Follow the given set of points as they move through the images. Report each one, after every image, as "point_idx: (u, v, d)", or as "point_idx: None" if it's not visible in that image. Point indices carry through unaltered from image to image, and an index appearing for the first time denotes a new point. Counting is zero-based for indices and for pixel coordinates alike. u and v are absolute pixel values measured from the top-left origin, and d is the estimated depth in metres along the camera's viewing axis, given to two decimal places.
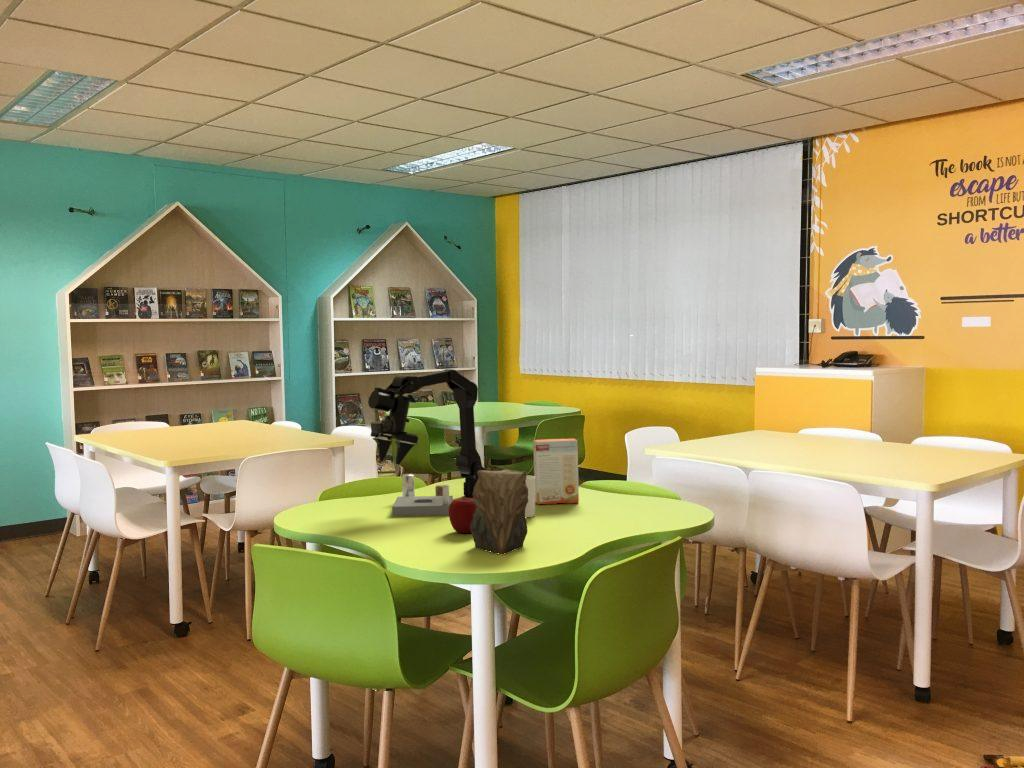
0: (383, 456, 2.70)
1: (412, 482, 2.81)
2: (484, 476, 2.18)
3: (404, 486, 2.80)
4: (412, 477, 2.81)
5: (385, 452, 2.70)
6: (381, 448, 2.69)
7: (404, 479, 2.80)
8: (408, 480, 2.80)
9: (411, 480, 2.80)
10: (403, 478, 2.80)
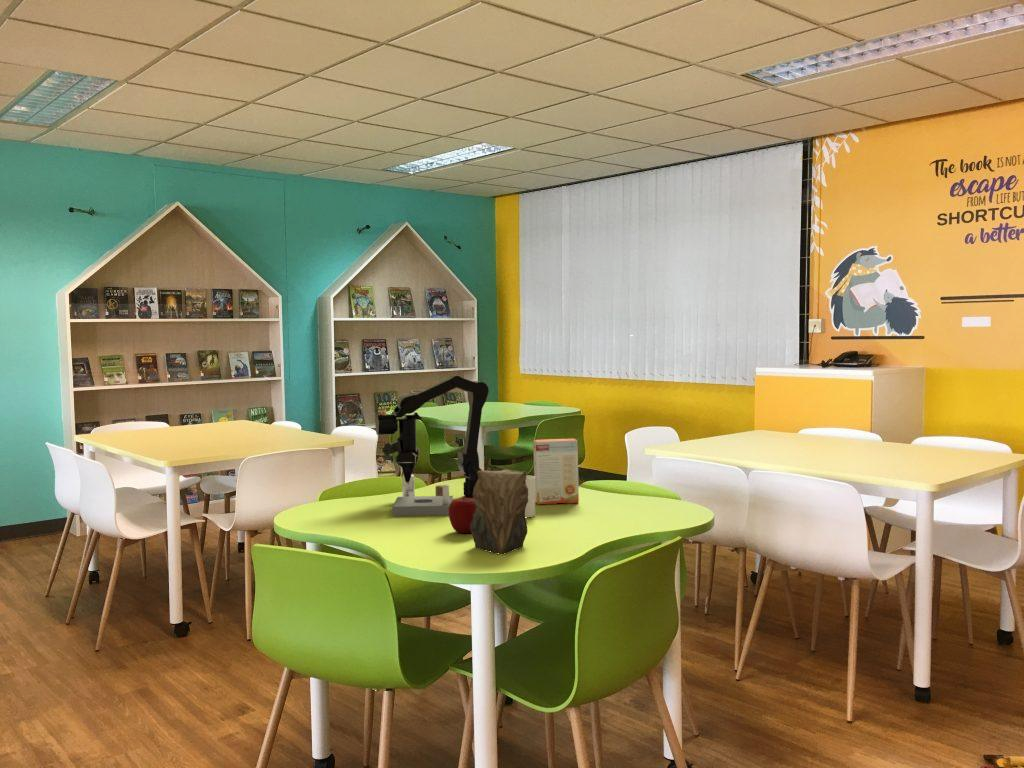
0: None
1: (412, 482, 2.81)
2: (484, 476, 2.18)
3: (404, 486, 2.80)
4: (412, 477, 2.81)
5: (412, 468, 2.86)
6: None
7: (404, 479, 2.80)
8: None
9: (411, 480, 2.80)
10: (403, 478, 2.80)
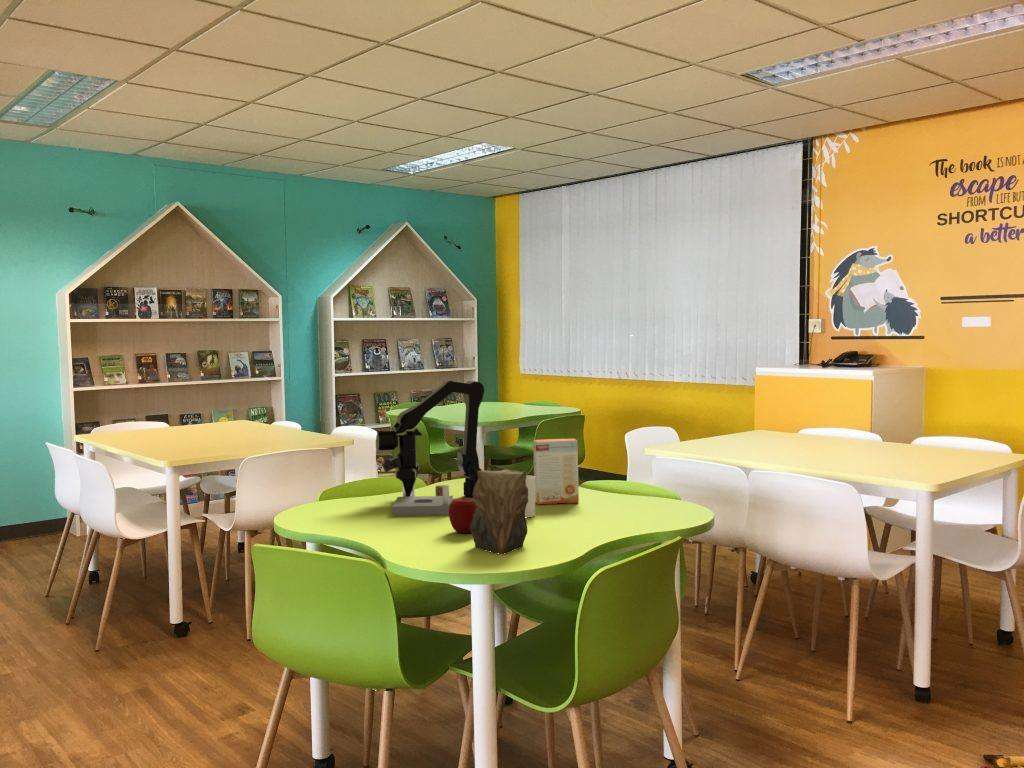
0: None
1: None
2: (484, 476, 2.18)
3: None
4: None
5: None
6: None
7: None
8: None
9: None
10: None
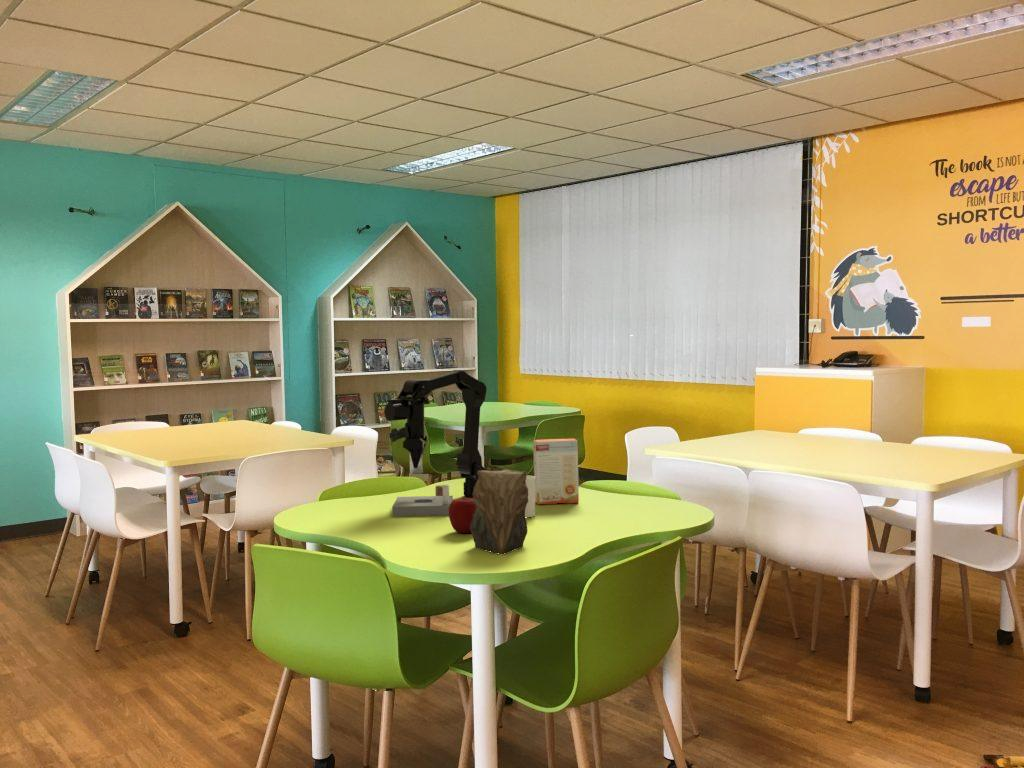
0: None
1: None
2: (484, 476, 2.18)
3: None
4: None
5: None
6: None
7: None
8: None
9: None
10: None
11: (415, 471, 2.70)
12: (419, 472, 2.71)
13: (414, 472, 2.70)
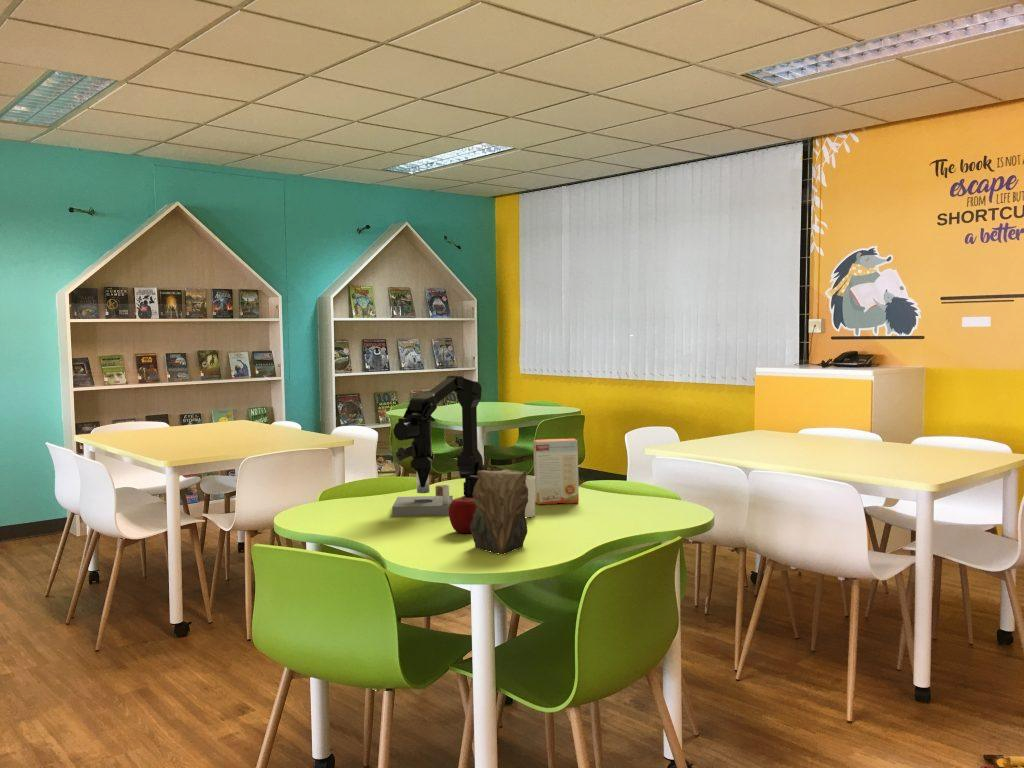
0: None
1: None
2: (484, 476, 2.18)
3: None
4: None
5: None
6: None
7: None
8: None
9: None
10: None
11: (423, 490, 2.65)
12: (426, 491, 2.66)
13: (421, 491, 2.65)
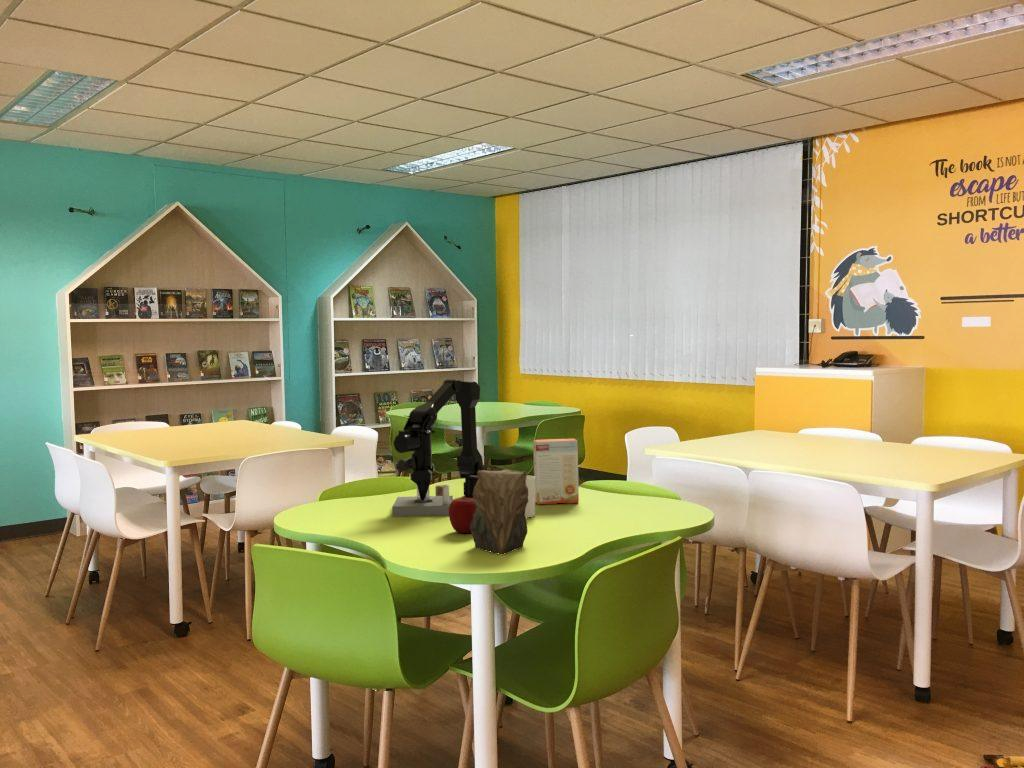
0: None
1: None
2: (484, 476, 2.18)
3: None
4: None
5: None
6: None
7: None
8: None
9: None
10: None
11: None
12: None
13: None
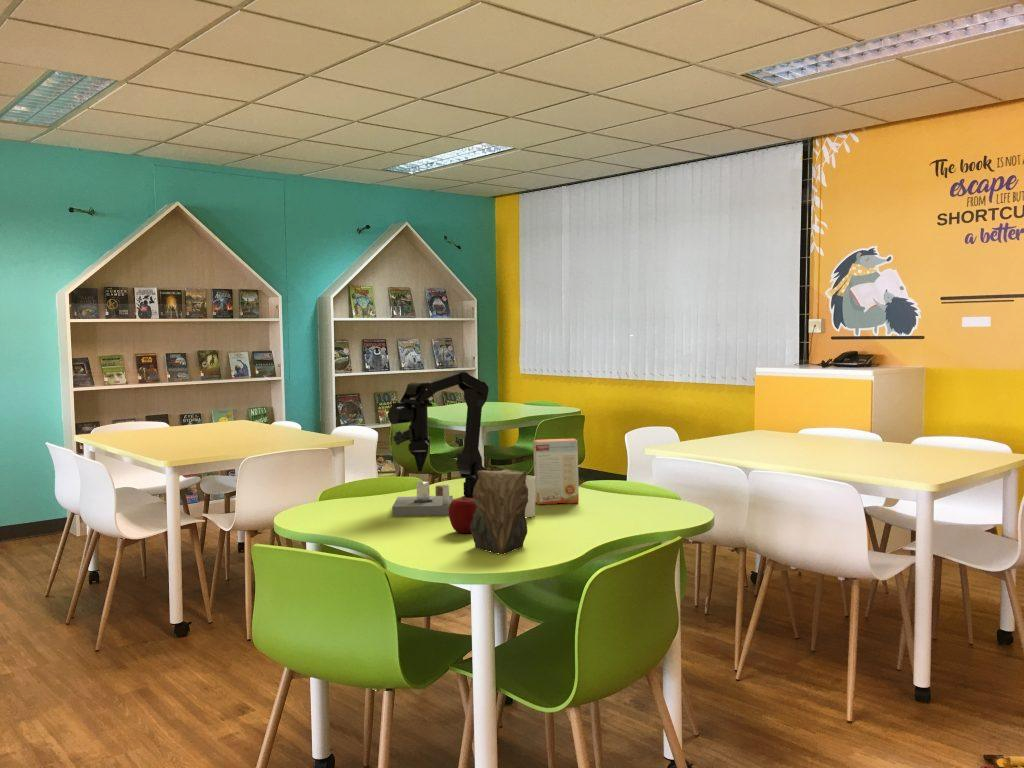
0: None
1: (427, 490, 2.66)
2: (484, 476, 2.18)
3: (418, 494, 2.65)
4: (427, 485, 2.66)
5: None
6: None
7: (418, 487, 2.65)
8: (423, 487, 2.65)
9: (426, 488, 2.65)
10: (417, 486, 2.66)
11: None
12: None
13: None
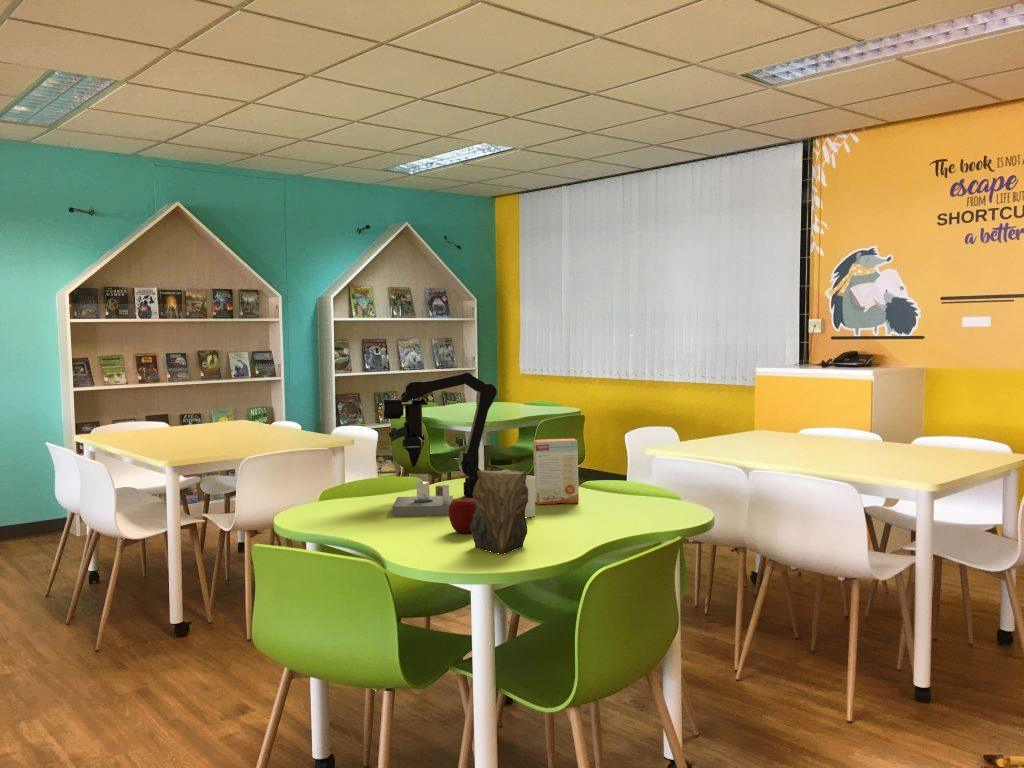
0: None
1: (427, 490, 2.66)
2: (484, 476, 2.18)
3: (418, 494, 2.65)
4: (427, 485, 2.66)
5: (418, 453, 2.89)
6: None
7: (418, 487, 2.65)
8: (423, 487, 2.65)
9: (426, 488, 2.65)
10: (417, 486, 2.66)
11: None
12: None
13: None
